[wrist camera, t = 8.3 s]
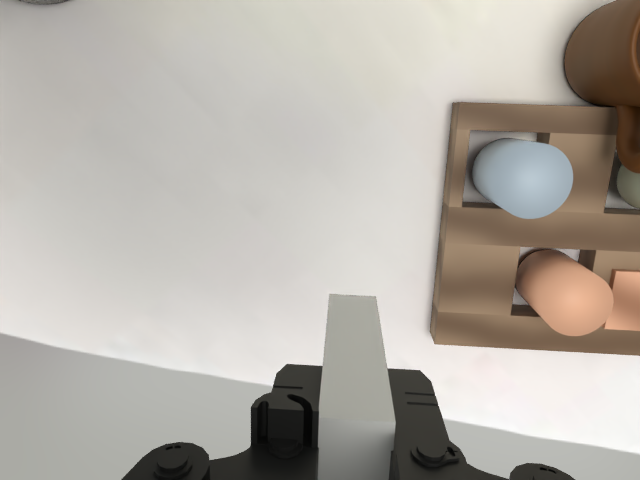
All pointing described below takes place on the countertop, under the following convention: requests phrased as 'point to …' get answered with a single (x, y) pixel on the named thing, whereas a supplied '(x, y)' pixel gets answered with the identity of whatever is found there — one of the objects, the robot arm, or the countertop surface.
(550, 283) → the peach rounded cylinder
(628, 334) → the wooden compartment tray
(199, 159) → the countertop surface
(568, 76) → the mug
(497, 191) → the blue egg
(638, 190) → the pale green rounded cylinder
